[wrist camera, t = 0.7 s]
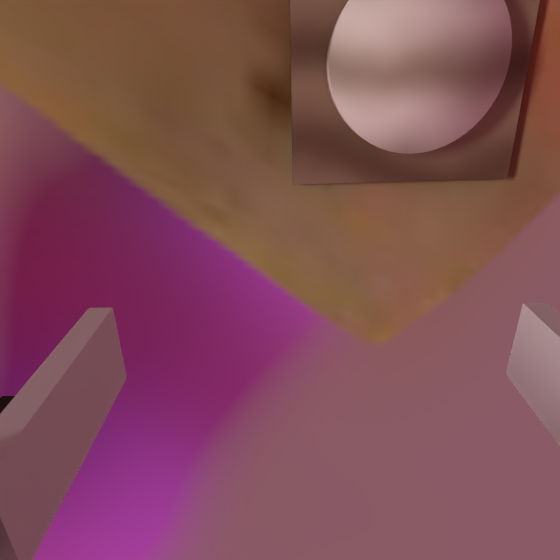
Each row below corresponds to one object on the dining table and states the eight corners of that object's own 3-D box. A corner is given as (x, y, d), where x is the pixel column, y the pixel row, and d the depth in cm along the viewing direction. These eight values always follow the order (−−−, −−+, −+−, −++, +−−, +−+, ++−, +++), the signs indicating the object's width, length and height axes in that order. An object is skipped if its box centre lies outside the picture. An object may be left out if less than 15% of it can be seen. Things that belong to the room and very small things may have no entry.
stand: (288, -76, 29) (289, -96, 26) (547, -86, 29) (580, -107, 25) (293, 182, 36) (293, 191, 33) (501, 176, 36) (523, 185, 32)
